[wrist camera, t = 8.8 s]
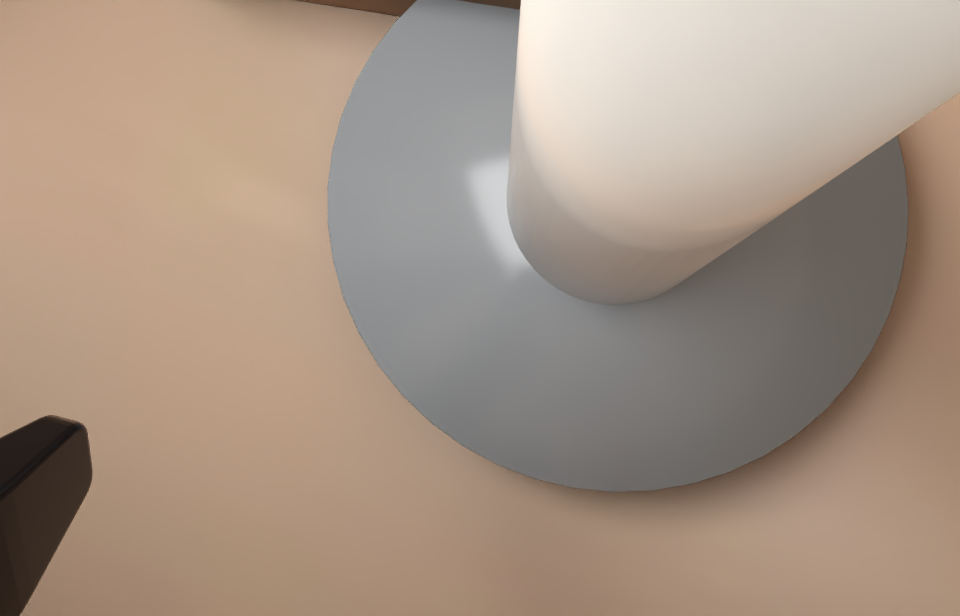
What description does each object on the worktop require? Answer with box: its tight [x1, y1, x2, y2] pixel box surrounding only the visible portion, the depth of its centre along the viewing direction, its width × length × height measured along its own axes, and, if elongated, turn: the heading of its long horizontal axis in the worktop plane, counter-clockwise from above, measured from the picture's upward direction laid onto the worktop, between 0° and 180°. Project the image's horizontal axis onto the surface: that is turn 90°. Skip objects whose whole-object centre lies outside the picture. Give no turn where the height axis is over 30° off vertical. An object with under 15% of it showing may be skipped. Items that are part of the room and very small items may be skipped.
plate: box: [328, 0, 908, 492], centre depth 19 cm, size 12×12×1 cm
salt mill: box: [507, 0, 960, 305], centre depth 11 cm, size 4×4×14 cm
